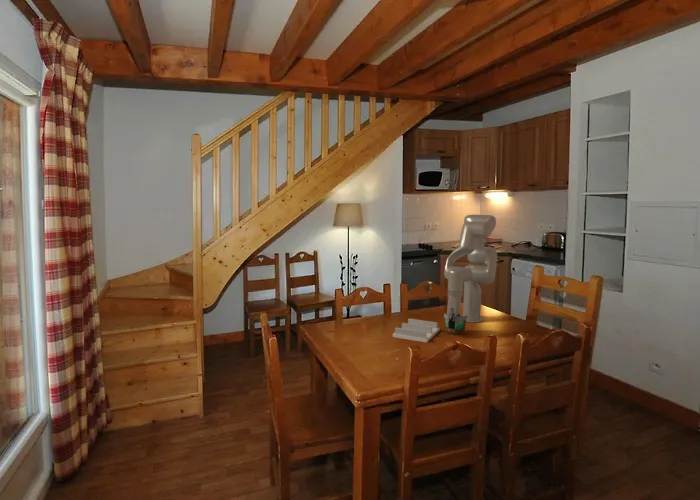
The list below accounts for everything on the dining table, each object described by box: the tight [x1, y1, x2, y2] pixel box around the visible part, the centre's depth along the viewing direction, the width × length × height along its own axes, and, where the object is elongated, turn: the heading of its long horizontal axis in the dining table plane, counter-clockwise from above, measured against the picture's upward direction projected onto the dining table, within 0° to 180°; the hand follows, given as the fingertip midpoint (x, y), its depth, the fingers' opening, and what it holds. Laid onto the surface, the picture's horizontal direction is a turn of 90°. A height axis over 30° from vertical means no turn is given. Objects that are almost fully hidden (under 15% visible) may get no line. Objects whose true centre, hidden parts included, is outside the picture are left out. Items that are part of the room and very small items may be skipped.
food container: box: [443, 311, 468, 336], centre depth 231 cm, size 12×6×10 cm, turn 62°
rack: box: [392, 318, 441, 343], centre depth 232 cm, size 21×18×4 cm
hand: (454, 325), depth 232 cm, fingers open, 9 cm apart
